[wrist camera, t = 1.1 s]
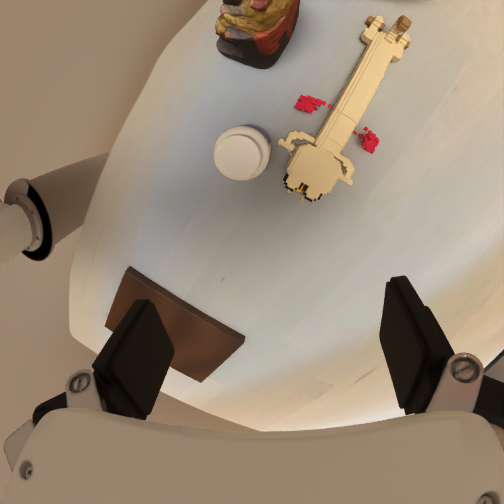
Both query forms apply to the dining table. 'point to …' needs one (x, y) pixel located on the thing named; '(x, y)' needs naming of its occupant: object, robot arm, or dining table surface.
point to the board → (179, 326)
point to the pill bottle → (242, 152)
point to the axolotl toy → (343, 115)
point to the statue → (256, 30)
